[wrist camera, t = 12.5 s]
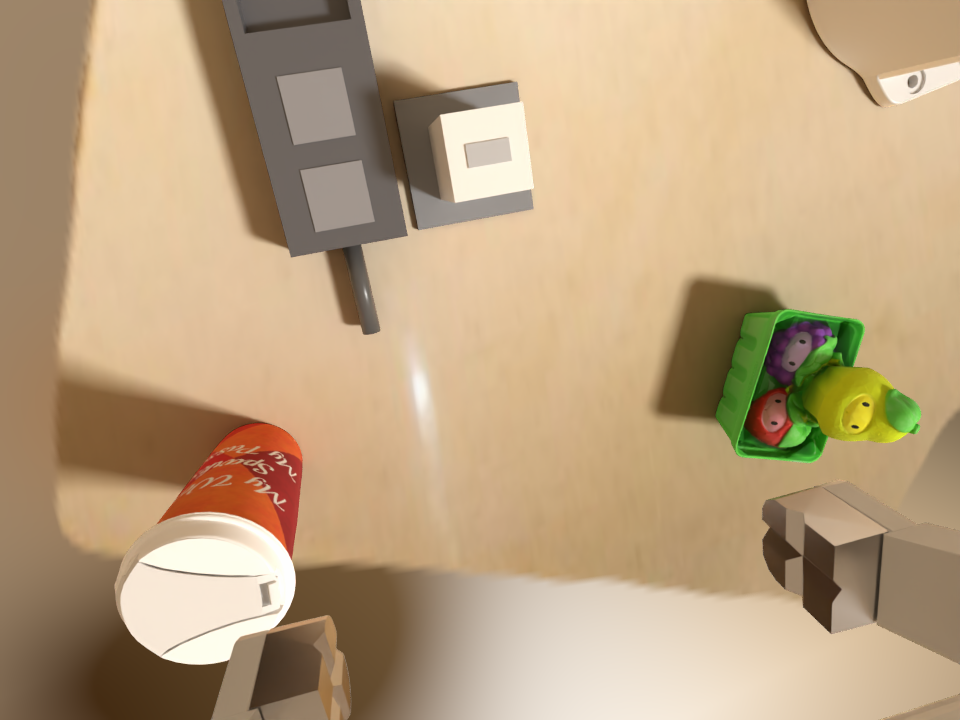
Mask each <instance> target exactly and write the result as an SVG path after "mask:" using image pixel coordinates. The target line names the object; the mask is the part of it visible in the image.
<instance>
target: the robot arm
mask: <svg viewBox="0 0 960 720" xmlns="http://www.w3.org/2000/svg"><path fill="white" fill-rule="evenodd" d="M807 4H808V8H809V12H810V15H811V18H812V21H813V23H814V26H815V28H816V30H817V32H818V34H819V36H820V38H821V39H822V41H823V43H824V44H825V45H826V47H827V48H828V49H829V50H830V51H831V53H832V54H833V55H834V56H835V57H836V58H838V59H839V60H840V61H841V62H843V63H844V64H846V65H847V66H849V67H850V68H851V69H853V70H854V71H856V72H857V73H858V74H859V75H860V76H861V77H862V78H863V80H864V82H865V84H866V86H867V88H868V89H869V91H870V93H871V95H872V97H873V98H874V100H875V101H876V102H877V103H878V104H879V105H880V106H882V107H892V106H895V105H899V104H902V103H905V102H907V101H910V100H912V99H915V98H917V97H919V96H922V95H924V94H927V93H929V92H932V91H934V90H937V89H939V88H941V87H944V86H946V85H949V84H951V83H954V82H956V81H959V80H960V0H807ZM908 79H909V85H908V84H907V82H908ZM762 520H763V521H764V522H765V523H766V524H767V525H768V526H769V527H770V528H769V529H768V531H767V533H766V534H765V536H764V538H763V539H762V542H763V556H764V558H765V561H766V564H767V566H768V569H769V571H770V572H771V574H772V575H773V577H774V578H775V580H776V581H777V582H778V583H779V584H780V585H781V586H782V587H783V588H784V589H785V590H787V591H790V592H793V593H795V594H798V595H800V596H802V602H803V607H804V608H805V609H806V610H807V611H808V612H809V613H810V614H811V615H812V616H813V617H814V618H815V619H816V620H817V621H818V622H819V623H820V624H821V625H822V626H823V627H824V628H825V629H826V630H827V631H828V632H830V633H831V634H833V633H838V632H841V631H845V630H849V629H853V628H856V627H860V626H864V625H868V624H872V623H875V622H877V625H878V626H880V627H882V628H885V629H887V630H889V631H891V632H893V633H895V634H897V635H899V636H902V637H903V638H906V639H908V640H910V641H912V642H914V643H916V644H918V645H920V646H923V647H925V648H927V649H929V650H931V651H933V652H935V653H937V654H940V655H941V656H943V657H946V658H948V659H950V660H952V661H954V662H956V663H958V664H960V531H959V530H955V529H951V528H947V527H942V526H938V525H934V524H930V523H921V524H916V523H914V522H913V521H911V520H910V519H908V518H906V517H905V516H903V515H902V514H900V513H898V512H897V511H895V510H894V509H892V508H890V507H889V506H887V505H885V504H884V503H882V502H881V501H879V500H877V499H876V498H874V497H872V496H871V495H869V494H868V493H866V492H864V491H863V490H861V489H859V488H858V487H856V486H855V485H853V484H851V483H850V482H848V481H844V480H839V479H838V480H835V481H831V482H828V483H824V484H821V485H817V486H814V487H813V488H809V489H806V490H802V491H798V492H794V493H791V494H787V495H783V496H780V497H776V498H772V499H768V500H766V501H765V503H764V505H763V508H762ZM336 640H337V632H336V629H335V626H334V623H333V620H332V618H331V617H330V616H329V615H327V616H322V617H318V618H314V619H309V620H305V621H301V622H297V623H293V624H288V625H285V626H280V627H276V628H272V629H270V630H265V631H261V632H257V633H253V634H249V635H245V636H241V637H240V638H239V639H238V640H237V641H236V642H235V644H234V647H233V650H232V653H231V656H230V660H229V663H228V666H227V670H226V673H225V677H224V680H223V683H222V686H221V690H220V693H219V696H218V699H217V703H216V706H215V710H214V713H213V716H212V719H211V720H347V718H348V717H349V715H350V714H351V692H350V680H349V674H348V669H347V665H346V661H345V658H344V654H343V653H342V652H340V651H339V650H337V649H336ZM880 720H960V694H958V695H955V696H951V697H948V698H945V699H943V700H939V701H936V702H933V703H930V704H927V705H924V706H920V707H918V708H914V709H911V710H908V711H905V712H902V713H899V714H896V715H893V716H889V717H886V718H883V719H880Z"/></svg>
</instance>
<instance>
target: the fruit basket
mask: <svg viewBox="0 0 960 720" xmlns="http://www.w3.org/2000/svg"><path fill="white" fill-rule="evenodd" d="M864 331H865V327H864V325H863V323H862V322H861V321H860V320H857V319H850V318H843V317H836V316H829V315H823V314H816V313H810V312H804V311H798V310H792V309H784V310H778V311H776V312H761V313H747V314H746V315H745V317H744V320H743V323H742V327H741V330H740V336H741V338H740V339H739V340H738V342H737V344H736V347H735V350H734V354H733V357H732V368H730V370H729V372H728V374H727V378H726V381H725V384H724V388H723V397H722V398H721V400H720V402H719V405H718V408H717V411H716V415H715V416H716V418H717V420H718V422H719V423H720V425H721V426H722V428H723V429H724V431H725V432H726V434H727V435H728V437H729V438H730V440H731V444H732V446H733V448H734V450H735V452H736V454H737V455H738V456H740V457H745V458H759V459H772V460H784V461H792V462H803V463H812V462H814V461H816V460H818V459H819V458H820V456H821V455H822V452H823V450H824V447H825V444H826V441H827V439H828V436H829V437H831V438H834V439H837V440H843V441H863V440H869V441H873V442H879V443H889V442H894V441H896V440H898V439H900V438H902V437H903V436H905V435H906V434H907V433H912V434H917V432H918V431H919V429H920V425H918V424H916V423H917V422H918V421H919V419H920V417H921V411H920V408H919V406H918V405H917V403H916V402H915V401H913V400H912V399H910V398H909V397H907V396H905V395H903V394H902V393H900V392H899V391H898V390H896V389H894V388H893V386H892V385H891V384H890V383H889V382H888V380H887V379H886V378H885V377H883V376H882V375H881V374H879V373H878V372H876V371H874V370H872V369H870V368H862V367H853V366H854V363H855V360H856V357H857V354H858V351H859V348H860V345H861V341H862V339H863V335H864Z"/></svg>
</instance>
